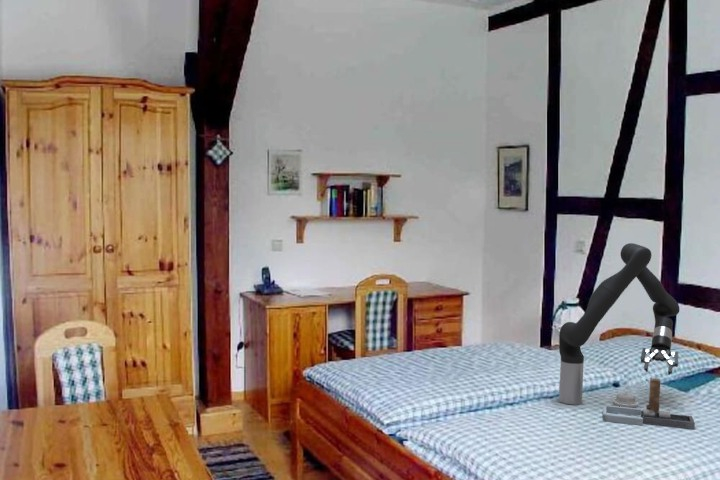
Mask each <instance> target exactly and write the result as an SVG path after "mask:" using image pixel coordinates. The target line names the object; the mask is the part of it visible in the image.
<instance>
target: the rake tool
mask: <svg viewBox="0 0 720 480" xmlns="http://www.w3.org/2000/svg"><path fill="white" fill-rule="evenodd" d="M660 397H661V379H660V378H653V377H650V378H649V396H648V398H649V399H648V404H646V409H647V410H654V411H655V412H658V411H660Z"/></svg>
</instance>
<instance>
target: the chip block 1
mask: <svg viewBox="0 0 720 480" xmlns="http://www.w3.org/2000/svg"><path fill="white" fill-rule="evenodd" d="M642 411H643V417H653V418H655V411H654V410H647V409H645V408H644V409H642Z"/></svg>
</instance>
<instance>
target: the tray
mask: <svg viewBox="0 0 720 480" xmlns="http://www.w3.org/2000/svg"><path fill="white" fill-rule="evenodd" d="M641 411H642V409H641V408H637V407H636V408H627V407H619V406H616V405H606V404H603V405H602V421H603V422H609V423H618V424H627V425H633V424H635V425H636V424H637V425H636V426H642V425H644V424H643V418H641V417H638V416H637V417H635V416H636V415H641ZM609 413H610V414H609ZM618 413H620V414H621V415H620V414H618ZM627 414H629V416H627Z"/></svg>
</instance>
